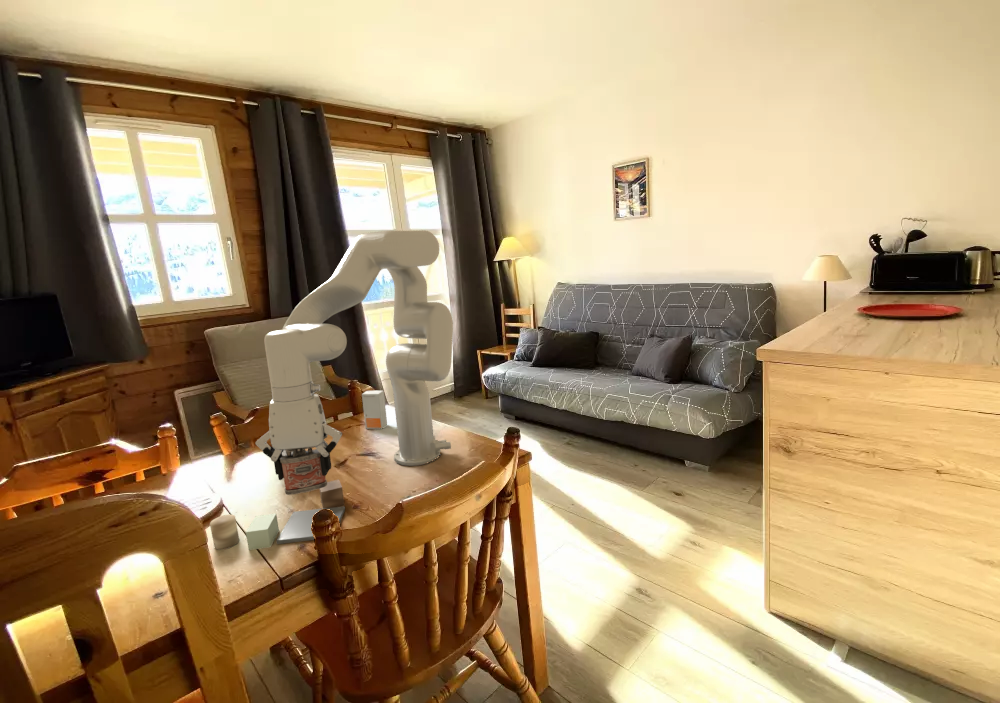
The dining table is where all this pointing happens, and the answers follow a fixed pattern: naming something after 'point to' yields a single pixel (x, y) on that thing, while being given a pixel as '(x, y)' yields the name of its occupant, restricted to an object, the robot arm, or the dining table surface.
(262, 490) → the dining table surface
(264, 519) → the sage block
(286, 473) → the lighter
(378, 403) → the skincare box
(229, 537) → the beech cylinder
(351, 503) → the dining table surface
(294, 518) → the coaster
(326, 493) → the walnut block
